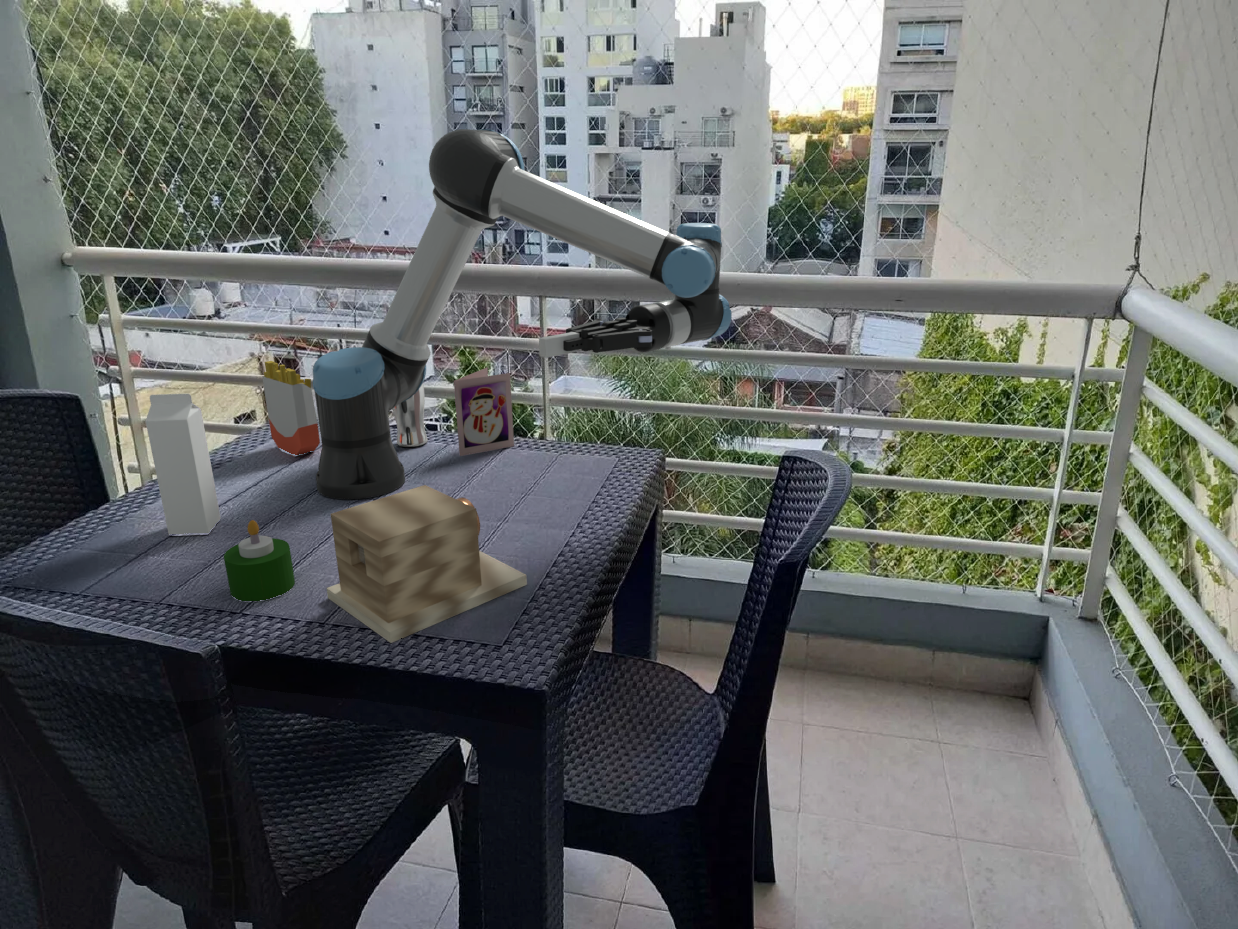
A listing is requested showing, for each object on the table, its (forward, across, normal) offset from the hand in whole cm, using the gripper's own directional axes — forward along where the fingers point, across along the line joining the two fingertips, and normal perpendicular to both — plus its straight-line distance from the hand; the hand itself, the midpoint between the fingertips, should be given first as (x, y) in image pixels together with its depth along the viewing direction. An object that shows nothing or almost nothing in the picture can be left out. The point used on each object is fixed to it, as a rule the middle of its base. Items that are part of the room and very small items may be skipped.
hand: (542, 347), depth 128 cm
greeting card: (-15, +40, -29) cm, 52 cm away
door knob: (+26, -5, -23) cm, 35 cm away
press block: (+25, -5, -29) cm, 38 cm away
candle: (+40, +12, -29) cm, 51 cm away
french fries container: (+12, +64, -30) cm, 71 cm away
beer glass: (-6, +51, -29) cm, 59 cm away
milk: (+40, +39, -30) cm, 63 cm away
